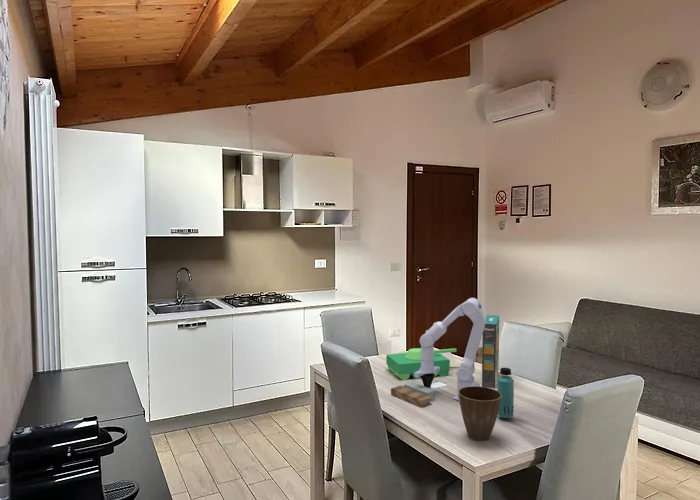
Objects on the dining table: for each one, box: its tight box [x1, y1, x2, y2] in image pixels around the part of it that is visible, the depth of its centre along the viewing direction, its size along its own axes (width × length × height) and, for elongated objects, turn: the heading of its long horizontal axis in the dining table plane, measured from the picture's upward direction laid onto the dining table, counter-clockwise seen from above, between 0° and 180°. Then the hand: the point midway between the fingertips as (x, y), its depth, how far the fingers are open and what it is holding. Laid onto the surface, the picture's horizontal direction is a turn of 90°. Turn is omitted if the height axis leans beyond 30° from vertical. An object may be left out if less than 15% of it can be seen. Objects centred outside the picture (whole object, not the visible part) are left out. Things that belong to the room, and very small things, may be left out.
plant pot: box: [458, 386, 501, 442], centre depth 178 cm, size 15×15×16 cm
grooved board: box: [390, 385, 432, 408], centre depth 215 cm, size 19×6×3 cm, turn 37°
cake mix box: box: [481, 314, 500, 389], centre depth 239 cm, size 22×6×30 cm, turn 160°
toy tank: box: [385, 347, 457, 381], centre depth 253 cm, size 18×12×35 cm
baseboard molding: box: [439, 352, 461, 369], centre depth 275 cm, size 31×3×12 cm
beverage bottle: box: [496, 367, 515, 419], centre depth 194 cm, size 6×7×20 cm
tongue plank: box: [403, 381, 436, 403], centre depth 218 cm, size 14×6×4 cm, turn 37°
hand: (427, 389), depth 222 cm, fingers closed
